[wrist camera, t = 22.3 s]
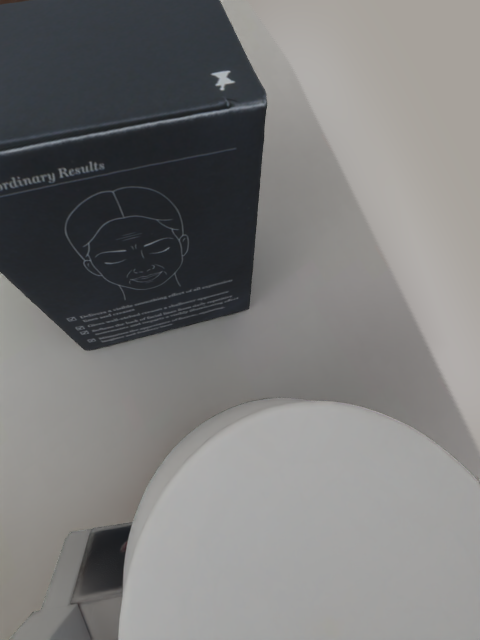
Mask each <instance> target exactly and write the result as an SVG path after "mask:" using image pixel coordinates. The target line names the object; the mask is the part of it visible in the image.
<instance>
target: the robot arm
mask: <svg viewBox="0 0 480 640" xmlns="http://www.w3.org/2000/svg"><path fill="white" fill-rule="evenodd" d="M132 523H133V522H130V523H124V524H117V525H111V526H104V527H98V528H93V529H87V530H81V531H74V532H70V533H69V535H68V536H67V537H66V539H65V541H64V544H63V547H62V550H61V553H60V555H59V558H58V561H57V564H56V567H55V570H54V573H53V576H52V579H51V582H50V585H49V587H48V590H47V593H46V596H45V599H44V602H43V605H42V608H41V611H36V612H33V613H32V614H31V615H30V616H29V617H28V618H27V619H26V621H25V622H24V623H23V624H22V625H21V626H20V627H19V628H18V630H17V631H16V632H15V633H14V634H13V635H12V636H11V638H10V639H9V640H118V634H119V619H120V612H121V604H122V597H123V572H124V561H125V554H126V548H127V542H128V538H129V534H130V530H131V526H132Z"/></svg>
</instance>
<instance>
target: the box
mask: <svg viewBox="0 0 480 640" xmlns="http://www.w3.org/2000/svg"><path fill="white" fill-rule="evenodd" d="M266 109H267V99H266V92H265V89H264V88H263V86H262V84H261V83H260V81H259V79H258V77H257V75H256V74H255V72H254V70H253V68H252V66H251V64H250V62H249V60H248V58H247V56H246V54H245V52H244V50H243V48H242V45H241V43H240V41H239V39H238V37H237V35H236V33H235V31H234V29H233V27H232V25H231V23H230V21H229V19H228V17H227V15H226V13H225V11H224V8H223V6H222V4H221V2H220V1H219V0H29V1H23V2H15V3H7V4H1V5H0V272H1V273H2V274H3V275H4V276H5V277H6V278H7V279H8V280H9V281H10V282H11V283H13V284H14V285H15V286H16V287H17V288H18V289H19V290H20V291H21V292H22V293H23V294H24V295H25V296H26V297H28V298H29V299H30V300H31V301H32V302H33V303H34V304H36V305H37V306H38V307H39V308H40V309H41V310H42V311H43V312H44V313H45V314H46V315H47V316H48V317H49V318H50V319H52V320H53V321H54V322H55V323H56V324H57V325H58V326H59V327H60V328H61V329H62V330H63V331H65V332H66V333H67V334H68V335H69V336H70V337H71V338H72V339H73V340H74V341H75V342H76V343H77V344H78V345H80V346H81V347H82V348H83V349H84V350H93V349H98V348H101V347H105V346H110V345H113V344H117V343H120V342H124V341H128V340H133V339H136V338H140V337H144V336H148V335H152V334H155V333H159V332H163V331H167V330H171V329H175V328H179V327H183V326H187V325H190V324H194V323H198V322H202V321H205V320H209V319H213V318H217V317H220V316H224V315H229V314H233V313H236V312H240V311H244V310H247V309H249V306H250V294H251V283H252V272H253V260H254V248H255V234H256V225H257V211H258V201H259V190H260V177H261V164H262V152H263V143H264V126H265V116H266Z"/></svg>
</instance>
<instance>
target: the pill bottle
mask: <svg viewBox="0 0 480 640" xmlns="http://www.w3.org/2000/svg"><path fill="white" fill-rule="evenodd" d="M118 640H480V483H479V482H478V480H477V479H476V478H475V477H474V476H473V475H472V474H471V473H470V472H469V471H468V470H467V469H466V468H465V467H464V466H463V465H462V464H461V463H460V462H459V461H458V460H456V459H455V458H454V457H453V456H452V455H451V454H449V453H448V452H447V451H446V450H445V449H443V448H442V447H441V446H439V445H438V444H437V443H435V442H434V441H432V440H431V439H430V438H428V437H427V436H425V435H424V434H422V433H421V432H419V431H417V430H416V429H414V428H413V427H411V426H409V425H407V424H405V423H403V422H401V421H398V420H396V419H394V418H392V417H390V416H388V415H385V414H383V413H380V412H377V411H374V410H371V409H368V408H365V407H361V406H357V405H353V404H348V403H342V402H336V401H311V400H305V399H298V398H269V399H262V400H255V401H251V402H247V403H243V404H240V405H238V406H235V407H232V408H229V409H227V410H225V411H223V412H221V413H219V414H217V415H215V416H213V417H212V418H210V419H208V420H207V421H205V422H204V423H202V424H200V425H199V426H198V427H197V428H195V429H194V430H193V431H192V432H190V433H189V434H188V435H187V436H186V437H184V438H183V439H182V440H181V441H180V442H179V443H178V444H177V445H176V446H175V448H174V449H173V450H172V451H171V452H170V453H169V454H168V455H167V457H166V458H165V459H164V461H163V462H162V463H161V465H160V466H159V467H158V469H157V471H156V472H155V474H154V475H153V477H152V479H151V480H150V482H149V484H148V486H147V488H146V490H145V492H144V494H143V496H142V499H141V501H140V503H139V506H138V509H137V511H136V514H135V517H134V520H133V523H132V526H131V530H130V534H129V538H128V542H127V548H126V554H125V561H124V572H123V597H122V604H121V612H120V619H119V634H118Z"/></svg>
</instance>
